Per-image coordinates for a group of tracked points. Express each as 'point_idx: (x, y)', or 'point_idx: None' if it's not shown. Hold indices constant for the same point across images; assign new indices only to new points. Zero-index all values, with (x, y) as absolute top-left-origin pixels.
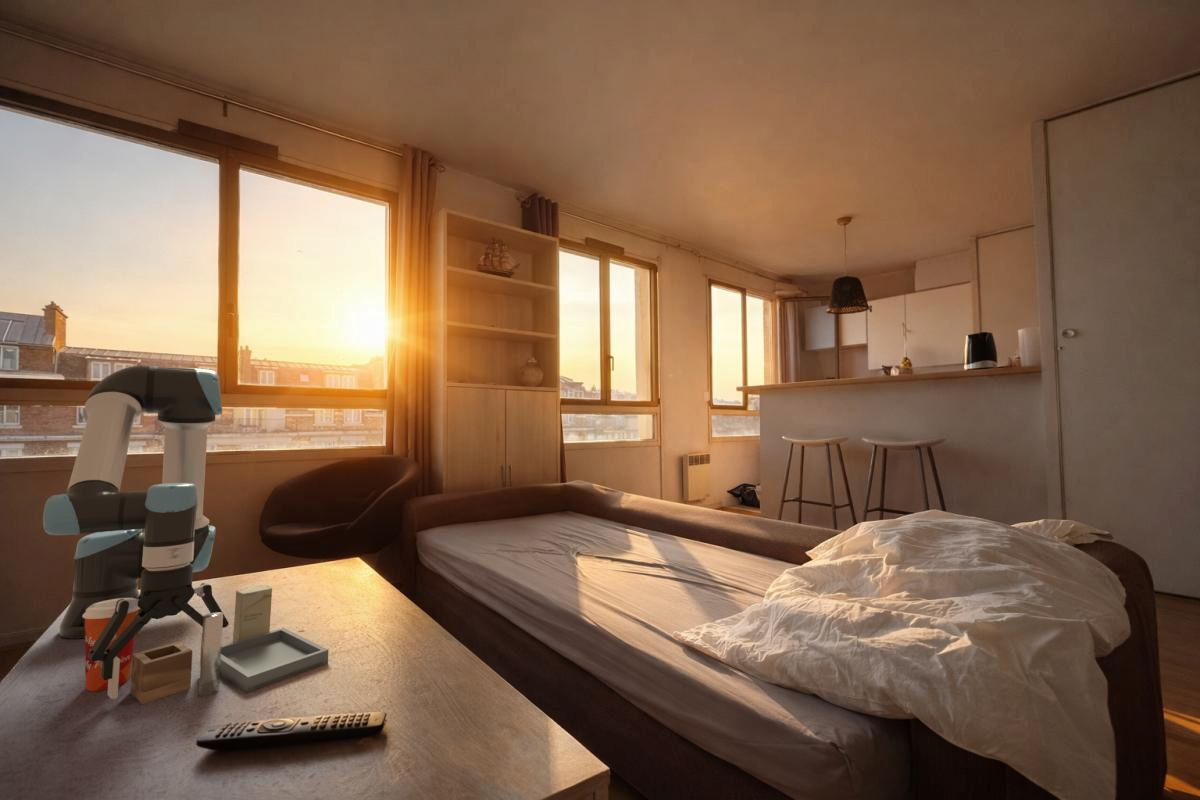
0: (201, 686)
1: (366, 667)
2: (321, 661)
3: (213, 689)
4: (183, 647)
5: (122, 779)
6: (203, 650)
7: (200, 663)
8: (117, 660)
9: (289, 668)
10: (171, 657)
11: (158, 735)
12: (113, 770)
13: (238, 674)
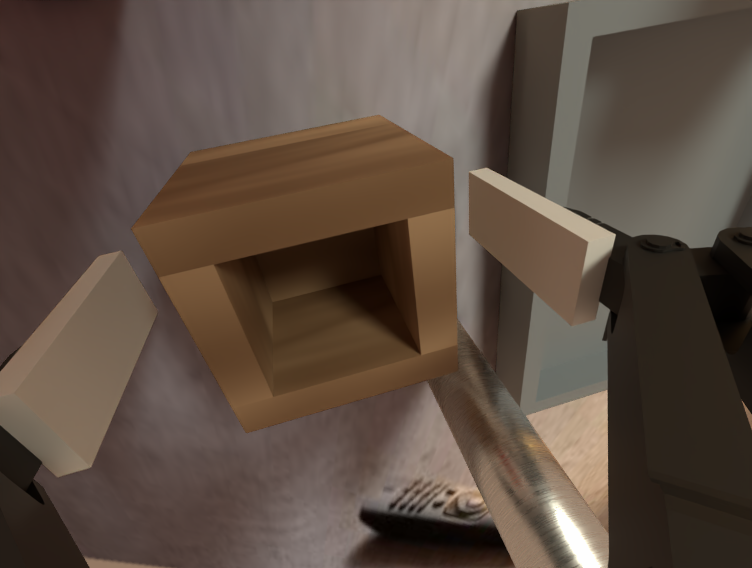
0: None
1: None
2: None
3: None
4: (440, 302)
5: (250, 561)
6: (476, 483)
7: (477, 182)
8: (77, 467)
9: None
10: (364, 392)
11: (300, 476)
12: (231, 543)
13: (517, 361)
